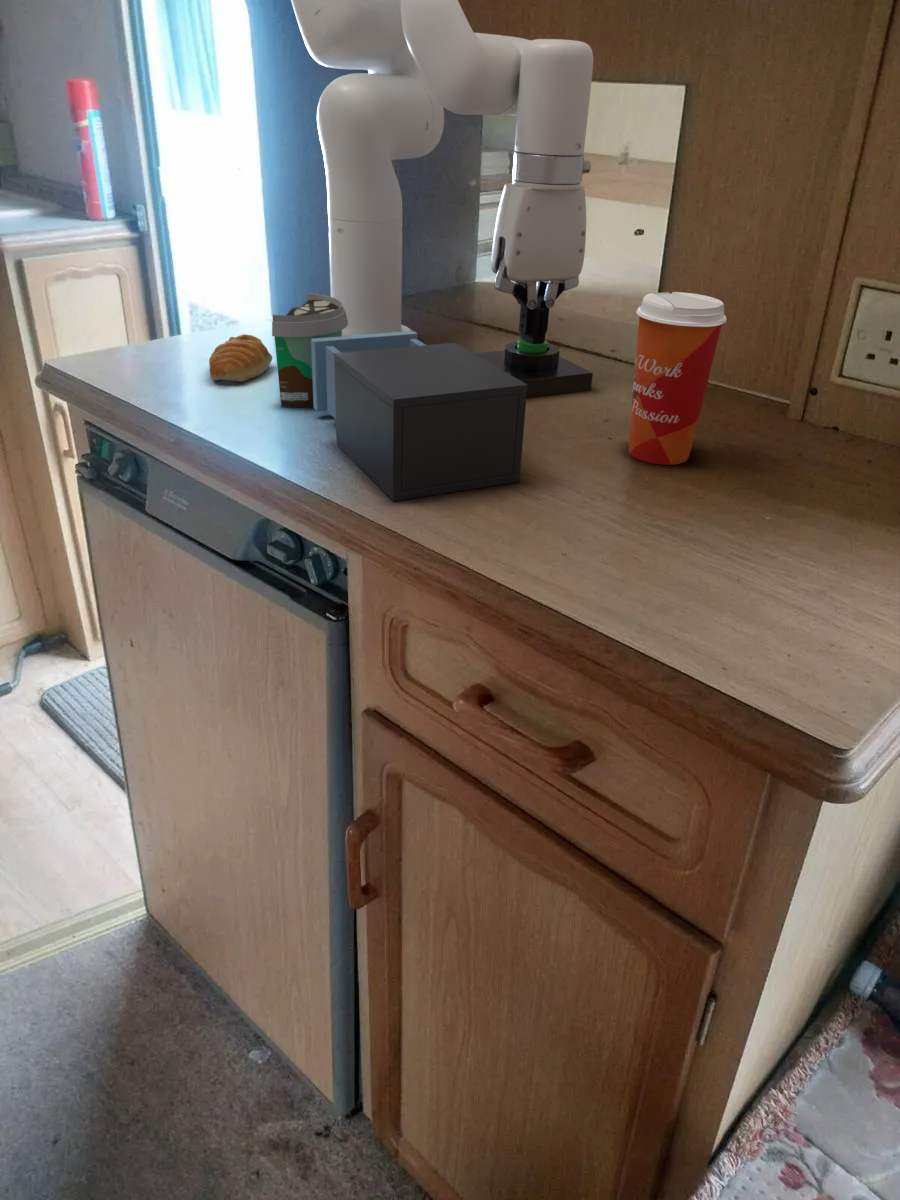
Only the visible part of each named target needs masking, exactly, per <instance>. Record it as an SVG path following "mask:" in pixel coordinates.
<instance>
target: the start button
mask: <svg viewBox="0 0 900 1200" xmlns="http://www.w3.org/2000/svg"><path fill="white" fill-rule="evenodd" d="M516 342H517V350H519V351H523V352H529V353H541V352H547V345H548V344H549V341H548V340H546V339H545V342H544V343H538V342H537V343H536V344H531V343H529V342H527V341H525V340H523V339H521V337H520V338H518V339H517V341H516Z"/></svg>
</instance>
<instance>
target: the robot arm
mask: <svg viewBox="0 0 900 1200" xmlns="http://www.w3.org/2000/svg"><path fill="white" fill-rule="evenodd" d="M290 3H291V6H292V9H293V12H294V15H295V19H296V22H297V24H298V28H299V31H300V34H301V37H302V40H303V44H304V45H305V47H306V49H307V51H308V53H309V55H310V56H311V58H312V59H313V60H314V61H315V62H316V63H318V65H321V66H324V67H326V68H331V69H340V70H355V71H356V70H357V71H359V70H360V71H361V70H362V71H367V72H355V73H354V72H353V73H348V74H345V75H341V76H339V77H336V78H335V79H333V80H332V81H330V83H328V84H327V86H326V87H325V88H324V89H323V91H322V93H321V95H320V97H319V100H318V102H317V103H318V104H317V109H316V123H317V132H318V137H319V142H320V146H321V151H322V155H323V162H324V169H325V170H324V171H325V179H326V194H327V195H326V196H327V217H328V247H329V249H328V250H329V284H330V288H329V289H330V297H333V298H336V299H338V300H340V301H341V302H342V305H343V307H344V309H345V311H346V316H347V320H348V325H347V327H345V328H344V329H342V336H353V335H366V334H378V333H391V332H404V331H412V329H411V328H410V327H407V325H403V324H402V305H403V304H402V301H403V300H402V299H403V298H402V296H403V295H402V293H403V292H402V291H403V287H402V286H403V197H402V191H401V187H400V182H399V180H398V177H397V175H396V172H395V169H394V166H393V163H392V160H393V161H396V160H408V159H416V158H422V157H424V156H427V155H428V154H430V153H431V152H432V151H433V150H435V148H437V146H438V145H439V142H440V141H441V138H442V136H443V132H444V127H445V109H446V110H447V111H449V112H451V113H453V114H456V115H464V116H471V115H472V116H474V115H478V116H479V115H480V116H481V115H482V116H483V115H488V116H489V115H490V116H509V115H516V124H515V136H514V137H515V138H514V150H513V151H514V152H513V164H512V165H513V166H512V179H511V183H504V185H503V188H502V189H503V190H502V193H501V198H500V201H499V205H498V209H497V213H496V219H495V225H494V232H493V242H492V248H491V260H490V267H491V271H492V273H494V274H495V275H496V277H495V280H494V283H493V288H494V289H495V290H497V291H499V292H502V293H505V294H511V295H512V296H513V297H514V299H515V300H516V303H517V304H518V305H520V311H519V323H518V332H519V336H520V338H521V339H523V340H525V341H527V342H529V343H531V344H536V343H537V342H538V343H544V342H545V340H546V334H547V332H548V327H549V316H550V309H552V308H553V307H554V306H555V303H556V300H557V299H558V298H559V297H560V296H561V295H562V293H563V292H566V291H569V290H572V289H574V288H577V287H578V286H579V285H580V280H579V279H580V277H579V276H580V275H581V273H582V270H583V267H584V260H585V253H586V243H587V242H586V240H587V203H586V190H585V186H583V185H581V182H582V179H583V175H584V174H589V173H590V171H591V169H592V164H591V161H590V160H585V144H586V136H587V129H588V128H587V127H588V118H589V110H590V109H589V108H590V99H591V90H592V89H591V88H592V81H593V71H594V53H593V50H592V47H591V46H590V45H589V44H588V43H586V42H584V41H581V40H573V39H561V38H537V39H536V38H535V39H532V40H530V39H527V38H523V37H518V36H510V35H502V34H493V33H484V32H483V33H482V32H475V31H473V29H472V27H471V25H470V23H469V21H468V18H467V17H466V14H465V13H464V10H463V8H462V7H461V6H462V5H461V4H460V2H459V0H290Z"/></svg>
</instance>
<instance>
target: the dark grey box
mask: <svg viewBox="0 0 900 1200" xmlns="http://www.w3.org/2000/svg"><path fill="white" fill-rule="evenodd" d="M334 361H335V400H336V419H335V432H336V433H335V434H336V435H335V436H336V446H337V447H338V448H339V449H340V450H341V451H342V452H343V453H344V454H345V455H346V456H347V457H348V458H349V459H350V460H351V461H352V462H353V463H354V464H355V465H356V466H357V467H358V468H359V469H360V470H361V471H362V472H363V473H364V474H365V475H366V476H367V478H370V480H371V481H372V482H373V483H374V484H375V485H376V486H377V487H378V488H379V489H380V490H381V491H382V492H383V493H384V494H385V495H386V496H387V497H388V499H390V500H391V501H392V502H398V501H405V500H411V499H417V498H424V497H430V496H437V495H443V494H444V495H445V494H449V493H450V494H451V493H455V492H461V491H468V490H474V489H480V488H488V487H494V486H499V485H500V486H501V485H506V484H514V483H519V482H520V481H521V467H522V455H523V445H524V431H525V420H526V419H525V418H526V406H527V398H526V397H527V394H526V393H527V387H528V385H527V384H525V383H524V382H522V381H520V380H519V379H517V378H515V377H513V376H512V375H510V374H508V373H506V372H505V371H503V370H501V369H499V368H498V367H496V366H494V365H492V364H491V363H489V362H487V361H485V360H484V359H482V358H480V357H479V356H477V355H475V354H473V352H472V351H470V350H468V349H467V348H465V347H463V346H461V345H459V344H458V343H456V342H447V343H435V344H425V345H423V346H411V347H399V348H388V349H376V350H365V351H353V352H342V353H334Z"/></svg>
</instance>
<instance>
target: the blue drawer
mask: <svg viewBox="0 0 900 1200" xmlns="http://www.w3.org/2000/svg"><path fill="white" fill-rule="evenodd" d="M423 345H426V344H425V343H424V342H422V341H420V340H419V339H418V332H416V331H414V330H411V331H404V332H391V333H378V334H366V335H353V336H341V337H328V338H315V339H311V353H312V379H313V404H314V406H313V409H314V410H315V411H316V412H323V411H327V413H328V414H329V415H330V416H331V417H333V418H334V420H336V400H335V361H334V353H342V352H353V351H365V350H376V349H388V348H399V347H411V346H423Z"/></svg>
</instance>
